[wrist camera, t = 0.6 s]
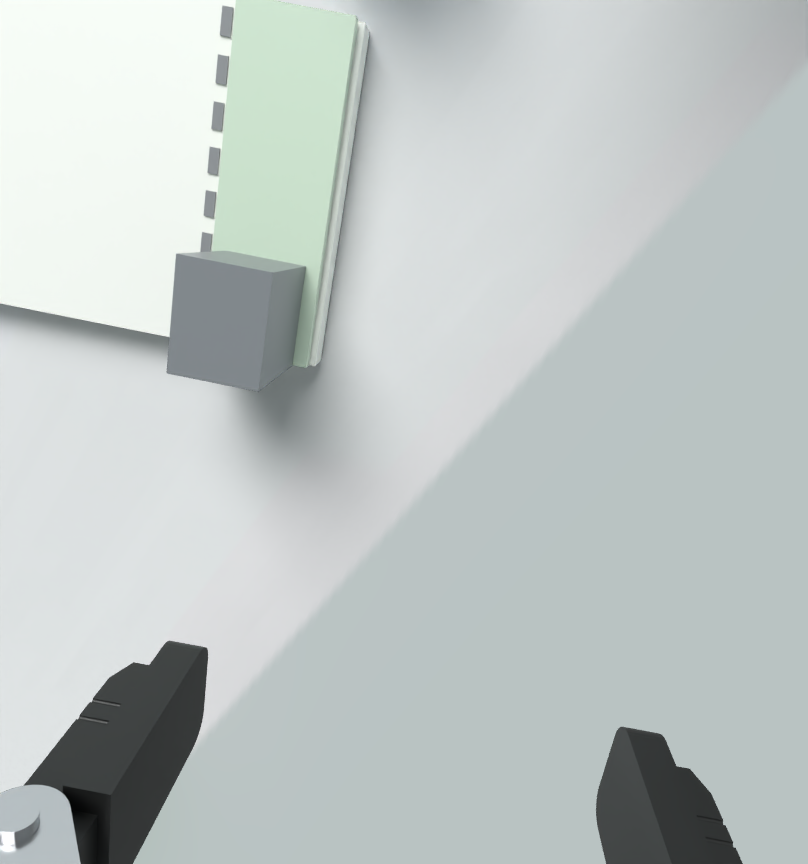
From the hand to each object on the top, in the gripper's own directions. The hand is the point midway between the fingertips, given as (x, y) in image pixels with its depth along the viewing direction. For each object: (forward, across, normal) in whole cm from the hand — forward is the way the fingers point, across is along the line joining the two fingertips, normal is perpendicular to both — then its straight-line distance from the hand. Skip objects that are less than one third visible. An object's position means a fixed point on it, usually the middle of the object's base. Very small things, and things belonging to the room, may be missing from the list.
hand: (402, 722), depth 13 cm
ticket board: (+24, +19, -10) cm, 32 cm away
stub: (+23, +10, -10) cm, 26 cm away
